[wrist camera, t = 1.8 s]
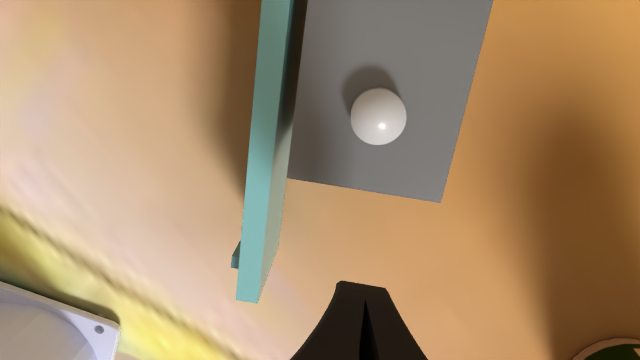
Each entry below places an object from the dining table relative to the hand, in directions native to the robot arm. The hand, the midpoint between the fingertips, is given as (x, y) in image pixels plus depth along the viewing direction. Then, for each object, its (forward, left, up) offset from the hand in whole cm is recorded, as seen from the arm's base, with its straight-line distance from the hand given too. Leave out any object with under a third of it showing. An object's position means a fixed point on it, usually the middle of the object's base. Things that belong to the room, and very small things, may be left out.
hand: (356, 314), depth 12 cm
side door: (-4, +2, -7) cm, 9 cm away
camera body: (-2, +8, -8) cm, 12 cm away
